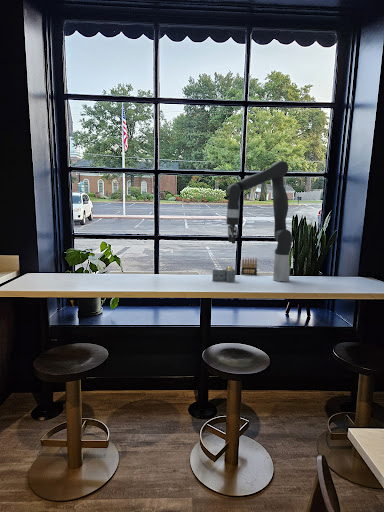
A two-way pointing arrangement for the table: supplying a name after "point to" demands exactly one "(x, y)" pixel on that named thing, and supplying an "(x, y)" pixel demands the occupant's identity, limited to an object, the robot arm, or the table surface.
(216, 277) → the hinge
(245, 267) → the ammunition clip
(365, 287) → the table surface
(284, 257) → the robot arm
